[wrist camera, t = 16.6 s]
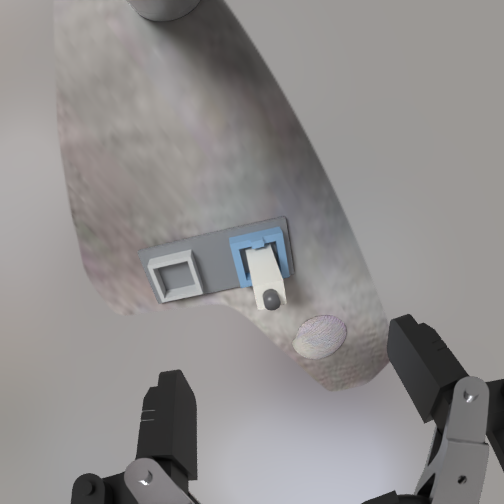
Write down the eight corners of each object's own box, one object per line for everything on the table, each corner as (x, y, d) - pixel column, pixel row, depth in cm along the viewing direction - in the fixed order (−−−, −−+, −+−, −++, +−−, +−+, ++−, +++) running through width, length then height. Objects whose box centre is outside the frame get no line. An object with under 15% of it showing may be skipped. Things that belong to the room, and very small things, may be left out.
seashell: (293, 329, 49) (355, 330, 48) (294, 309, 54) (350, 310, 53) (289, 372, 53) (344, 372, 52) (290, 351, 58) (341, 352, 57)
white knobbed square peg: (249, 267, 45) (259, 318, 35) (244, 246, 44) (254, 294, 33) (272, 262, 45) (289, 312, 35) (268, 241, 44) (285, 287, 33)
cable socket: (159, 300, 47) (156, 315, 44) (138, 250, 43) (133, 262, 40) (293, 271, 47) (298, 284, 44) (284, 216, 43) (290, 226, 40)
